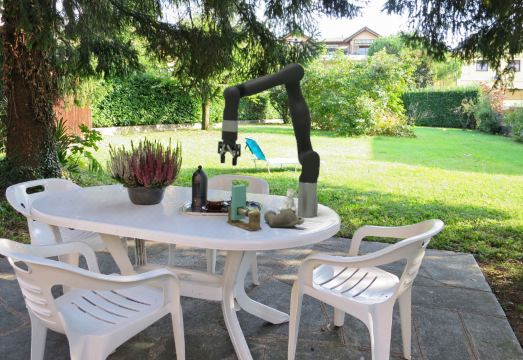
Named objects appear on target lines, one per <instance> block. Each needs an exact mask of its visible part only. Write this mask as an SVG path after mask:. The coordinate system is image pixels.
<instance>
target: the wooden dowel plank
mask: <svg viewBox="0 0 523 360" xmlns="http://www.w3.org/2000/svg"><path fill="white" fill-rule="evenodd" d="M227 208H228V209H227V210H228V214H227V221H226V224H229V225H232V226H235V227H236V228H237V227H238V228H239V229H242V230H244V231H248V232H251V233H252V232H256V231H260V230H262V227H261V212H259V211H252V210H247V209H246V210H244V209H241V208H240V207H237V214H242V215H245V216H246V218H248V222H246V221H243V220H241V219H240V220H235V221H234V220H231V205H230V206H228V207H227Z"/></svg>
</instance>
